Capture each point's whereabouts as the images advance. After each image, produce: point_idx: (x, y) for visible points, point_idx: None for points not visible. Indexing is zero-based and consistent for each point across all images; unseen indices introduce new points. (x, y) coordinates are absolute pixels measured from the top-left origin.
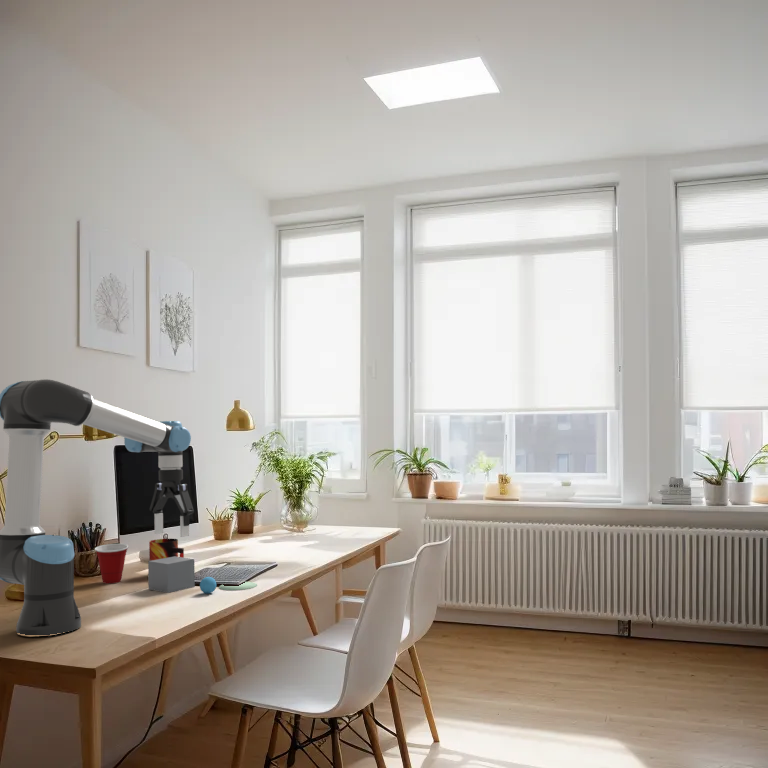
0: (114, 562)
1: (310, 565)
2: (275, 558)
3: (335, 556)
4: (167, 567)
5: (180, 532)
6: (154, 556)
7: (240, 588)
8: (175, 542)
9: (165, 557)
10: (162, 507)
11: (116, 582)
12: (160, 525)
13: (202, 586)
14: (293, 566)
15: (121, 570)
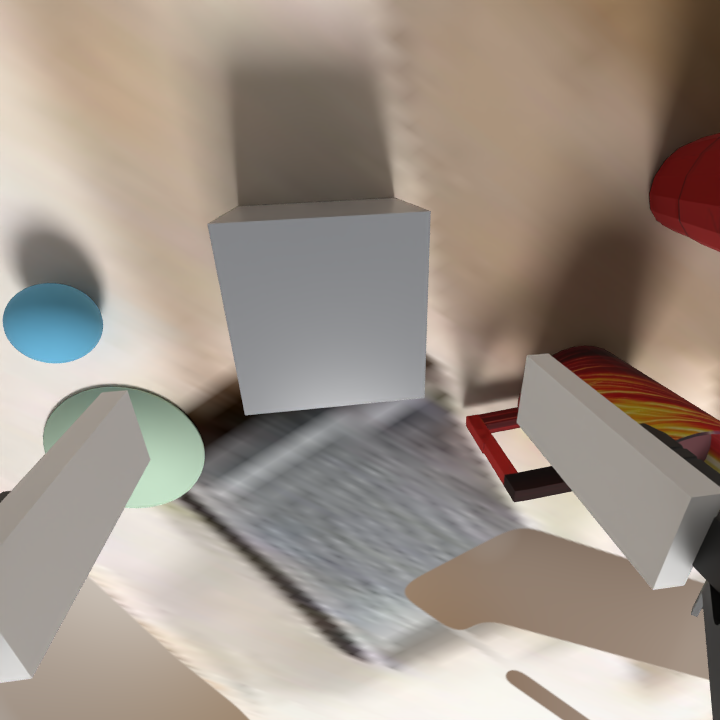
0: None
1: (262, 695)
2: (437, 685)
3: None
4: (214, 220)
5: (107, 414)
6: (629, 393)
7: (63, 432)
8: None
9: None
10: (716, 678)
11: (652, 187)
12: (560, 443)
13: (33, 286)
14: (291, 669)
15: (683, 217)
